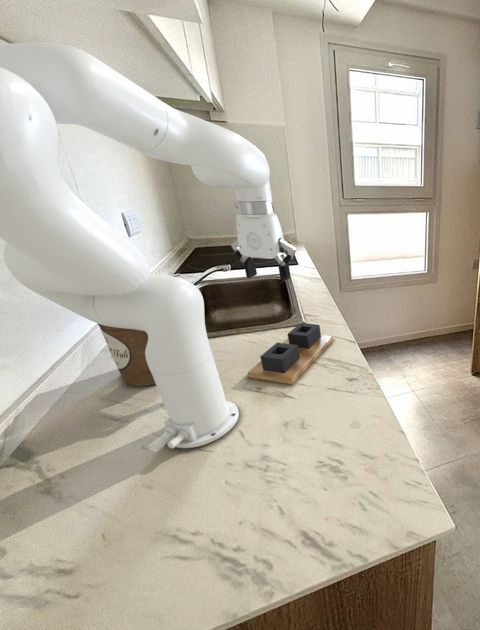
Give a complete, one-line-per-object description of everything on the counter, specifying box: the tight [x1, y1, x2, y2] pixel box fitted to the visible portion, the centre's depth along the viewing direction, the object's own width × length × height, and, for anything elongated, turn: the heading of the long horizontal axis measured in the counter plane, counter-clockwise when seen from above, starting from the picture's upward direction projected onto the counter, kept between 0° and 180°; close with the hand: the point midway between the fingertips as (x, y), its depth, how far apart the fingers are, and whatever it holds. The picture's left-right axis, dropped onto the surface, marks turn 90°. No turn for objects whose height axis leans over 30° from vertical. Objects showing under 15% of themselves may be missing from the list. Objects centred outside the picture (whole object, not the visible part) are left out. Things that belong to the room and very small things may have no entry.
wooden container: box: [97, 323, 156, 387], centre depth 80 cm, size 15×15×22 cm
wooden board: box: [247, 332, 334, 385], centre depth 89 cm, size 22×12×4 cm, turn 168°
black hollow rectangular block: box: [259, 342, 300, 373], centre depth 84 cm, size 7×6×4 cm
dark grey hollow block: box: [287, 322, 322, 349], centre depth 94 cm, size 7×6×4 cm
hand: (268, 278), depth 85 cm, fingers open, 9 cm apart
